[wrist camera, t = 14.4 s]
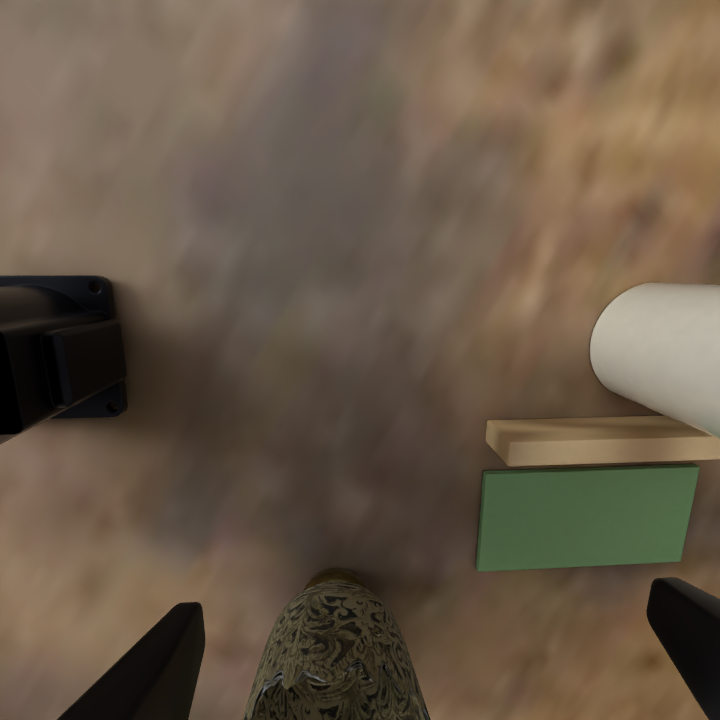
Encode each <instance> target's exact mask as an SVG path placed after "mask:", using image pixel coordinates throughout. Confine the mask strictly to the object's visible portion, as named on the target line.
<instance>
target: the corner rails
mask: <svg viewBox="0 0 720 720" xmlns="http://www.w3.org/2000/svg"><path fill="white" fill-rule="evenodd" d="M486 442H487V443H488V444H489V446H490V447H491V448H492V449H493V450H494V451H495V452H496V453H497V454H498V456H499V457H500V458H501V459H502V460H503V461H504V462H505V463H506V465H507V466H535V465H565V464H595V463H624V462H654V461H684V460H714V459H720V439H718V438H716V437H713V436H711V435H709V434H706V433H704V432H702V431H700V430H697V429H695V428H693V427H690V426H688V425H686V424H684V423H681V422H679V421H677V420H674V419H672V418H670V417H667V416H631V417H592V418H553V419H514V420H487V428H486Z"/></svg>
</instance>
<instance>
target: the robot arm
mask: <svg viewBox="0 0 720 720" xmlns="http://www.w3.org/2000/svg"><path fill="white" fill-rule="evenodd" d="M95 282H97V283H98V284H99V285H100V287H101V289H100V291H99V292H97V291H95V289H94V284H95ZM126 375H127V372H126V365H125V357H124V350H123V342H122V335H121V327H120V324H119V323H118V322H117V321H116V317H115V310H114V303H113V295H112V288H111V284H110V282H109V281H108V280H107V279H106V278H104V277H103V276H0V444H2V443H4V442H5V441H7V440H9V439H11V438H13V437H15V436H17V435H19V434H21V433H23V432H25V431H27V430H28V429H30V428H32V427H34V426H36V425H38V424H40V423H42V422H44V421H46V420H48V419H55V418H98V417H116V416H119V415H120V414H122V413H123V412H124V411H125V410H126V409H127V398H126V391H125V383H124V378H125V377H126ZM111 402H114V403H116V404H117V406H118V408H117V409H114V408H113V407H112V406H111ZM647 618H648V621H649V623H650V626H651V627H652V629H653V631H654V632H655V634H656V636H657V637H658V639H659V640H660V642H661V644H662V645H663V647H664V649H665V650H666V652H667V653H668V655H669V657H670V658H671V660H672V662H673V663H674V665H675V666H676V668H677V670H678V671H679V673H680V675H681V676H682V678H683V679H684V681H685V683H686V684H687V686H688V688H689V689H690V691H691V692H692V694H693V696H694V697H695V699H696V701H697V702H698V704H699V705H700V707H701V708H702V710H703V711H704V713H705V715H706V716H707V717H708V719H709V720H720V599H718V598H716V597H714V596H712V595H710V594H708V593H706V592H704V591H702V590H700V589H698V588H696V587H694V586H692V585H690V584H688V583H686V582H684V581H682V580H680V579H678V578H673V577H669V578H657V579H655V580H654V581H653V582H652V585H651V590H650V595H649V600H648V605H647ZM204 648H205V630H204V620H203V611H202V606H201V604H200V603H198V602H188V603H179V604H177V605H176V606H174V607H173V608H172V609H171V610H170V611H169V612H168V613H167V614H166V615H165V616H164V617H163V618H162V619H161V620H160V621H159V622H158V623H157V624H156V625H155V626H154V627H153V628H151V629H150V630H149V631H148V632H147V633H146V634H145V635H144V636H143V637H142V638H141V639H140V640H139V641H138V642H137V643H136V644H135V645H134V646H133V647H132V648H131V649H130V650H129V651H128V652H127V653H126V654H124V655H123V656H122V657H121V658H120V659H119V660H118V661H117V662H116V663H115V664H114V665H113V666H112V667H111V668H110V669H109V670H108V671H107V672H106V673H105V674H104V675H103V676H102V677H101V678H100V679H98V680H97V681H96V682H95V683H94V684H93V685H92V686H91V687H90V688H89V689H88V690H87V691H86V692H85V693H84V694H83V695H82V696H81V697H80V698H79V699H78V700H77V701H76V702H75V703H74V704H73V705H71V706H70V707H69V708H68V709H67V710H66V711H65V712H64V713H63V714H62V715H61V716H60V717H59V718H58V719H57V720H188V718H189V713H190V709H191V705H192V701H193V696H194V692H195V688H196V683H197V679H198V675H199V671H200V666H201V662H202V658H203V653H204Z"/></svg>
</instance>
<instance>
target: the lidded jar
mask: <svg viewBox="0 0 720 720" xmlns="http://www.w3.org/2000/svg"><path fill="white" fill-rule="evenodd" d="M590 359H591V364H592V367H593V370H594V372H595V374H596V376H597V378H598V379H599V380H600V382H601V383H602V384H603V385H604V386H605V387H606V388H607V389H609V390H610V391H611V392H613V393H615V394H617V395H619V396H622V397H624V398H626V399H628V400H631V401H633V402H635V403H638V404H640V405H642V406H645V407H647V408H649V409H651V410H654V411H656V412H658V413H661V414H663V415H665V416H667V417H670V418H672V419H674V420H677V421H679V422H681V423H684V424H686V425H688V426H690V427H693V428H695V429H697V430H700V431H702V432H704V433H706V434H709V435H711V436H713V437H716V438H718V439H720V284H693V283H665V282H653V283H646V284H641V285H638V286H635V287H633V288H631V289H629V290H627V291H625V292H624V293H622V294H621V295H619V296H618V297H617V298H615V299H614V300H613V301H612V302H611V303H610V304H609V305H608V306H607V307H606V308H605V310H604V311H603V312H602V314H601V315H600V317H599V319H598V320H597V323H596V325H595V327H594V330H593V333H592V337H591V342H590Z"/></svg>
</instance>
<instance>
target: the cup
mask: <svg viewBox="0 0 720 720" xmlns="http://www.w3.org/2000/svg"><path fill="white" fill-rule="evenodd" d="M243 720H430V717H429V714H428V711H427V708H426V705H425V702H424V699H423V696H422V693H421V689H420V686H419V683H418V680H417V677H416V674H415V671H414V668H413V665H412V661H411V658H410V655H409V652H408V649H407V647H406V644H405V641H404V638H403V636H402V634H401V631H400V629H399V626H398V624H397V622H396V620H395V618H394V616H393V615H392V613H391V611H390V610H389V609H388V607H387V606H386V605H385V603H384V602H383V601H382V600H381V599H380V598H379V597H378V596H377V595H375V594H374V593H373V592H371V591H370V590H368V589H367V588H366V587H365V585H364V583H363V582H362V581H361V579H360V578H359V577H358V576H357V575H356V574H354V573H353V572H351V571H349V570H346V569H342V568H331V569H326V570H323V571H321V572H319V573H318V574H316V575H315V576H314V577H313V578H312V579H311V580H310V581H309V582H308V584H307V585H306V587H305V588H304V590H303V592H301V593H300V594H299V595H297V596H296V597H295V598H294V599H293V600H292V601H291V602H290V603H289V604H288V605H287V606H286V607H285V609H284V610H283V611H282V613H281V614H280V616H279V617H278V619H277V621H276V623H275V625H274V627H273V629H272V631H271V633H270V636H269V638H268V641H267V643H266V646H265V649H264V652H263V655H262V658H261V661H260V664H259V667H258V670H257V674H256V677H255V680H254V683H253V687H252V690H251V693H250V696H249V700H248V703H247V707H246V710H245V714H244V717H243Z"/></svg>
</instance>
